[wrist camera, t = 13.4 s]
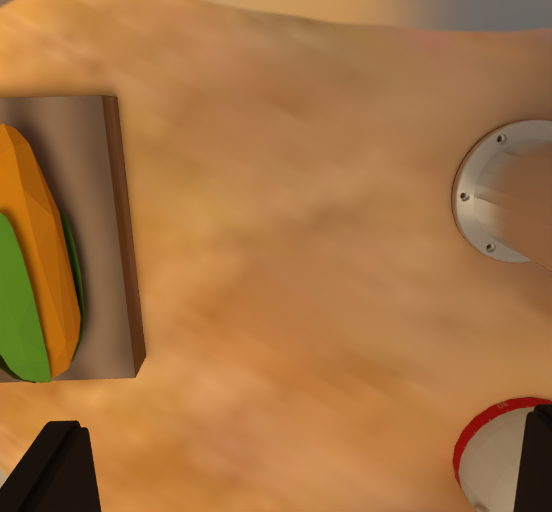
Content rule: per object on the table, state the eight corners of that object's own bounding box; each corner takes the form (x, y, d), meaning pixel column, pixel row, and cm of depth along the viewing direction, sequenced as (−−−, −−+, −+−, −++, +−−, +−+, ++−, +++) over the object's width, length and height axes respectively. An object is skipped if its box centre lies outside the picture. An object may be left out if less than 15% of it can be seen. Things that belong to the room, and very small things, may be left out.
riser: (117, 97, 41) (101, 95, 37) (145, 356, 47) (135, 377, 43) (-28, 100, 40) (-59, 99, 37) (21, 360, 47) (0, 382, 43)
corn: (-31, 411, 35) (-98, 126, 30) (14, 360, 43) (-34, 124, 37) (74, 403, 36) (28, 122, 30) (100, 355, 43) (67, 121, 38)
